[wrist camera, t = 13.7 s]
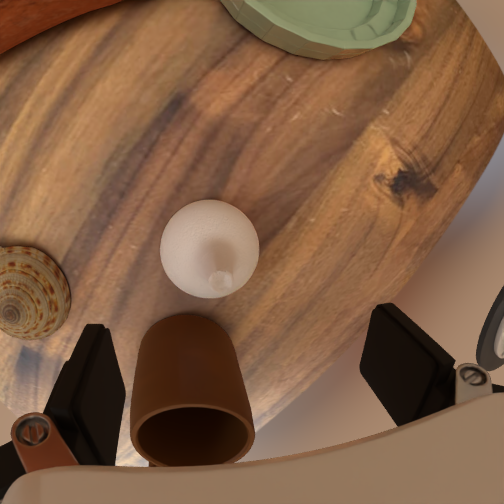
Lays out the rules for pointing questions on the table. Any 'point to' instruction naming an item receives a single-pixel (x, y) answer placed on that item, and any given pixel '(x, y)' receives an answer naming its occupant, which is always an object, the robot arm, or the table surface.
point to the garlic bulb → (209, 249)
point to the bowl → (324, 24)
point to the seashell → (31, 293)
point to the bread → (39, 17)
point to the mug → (189, 396)
